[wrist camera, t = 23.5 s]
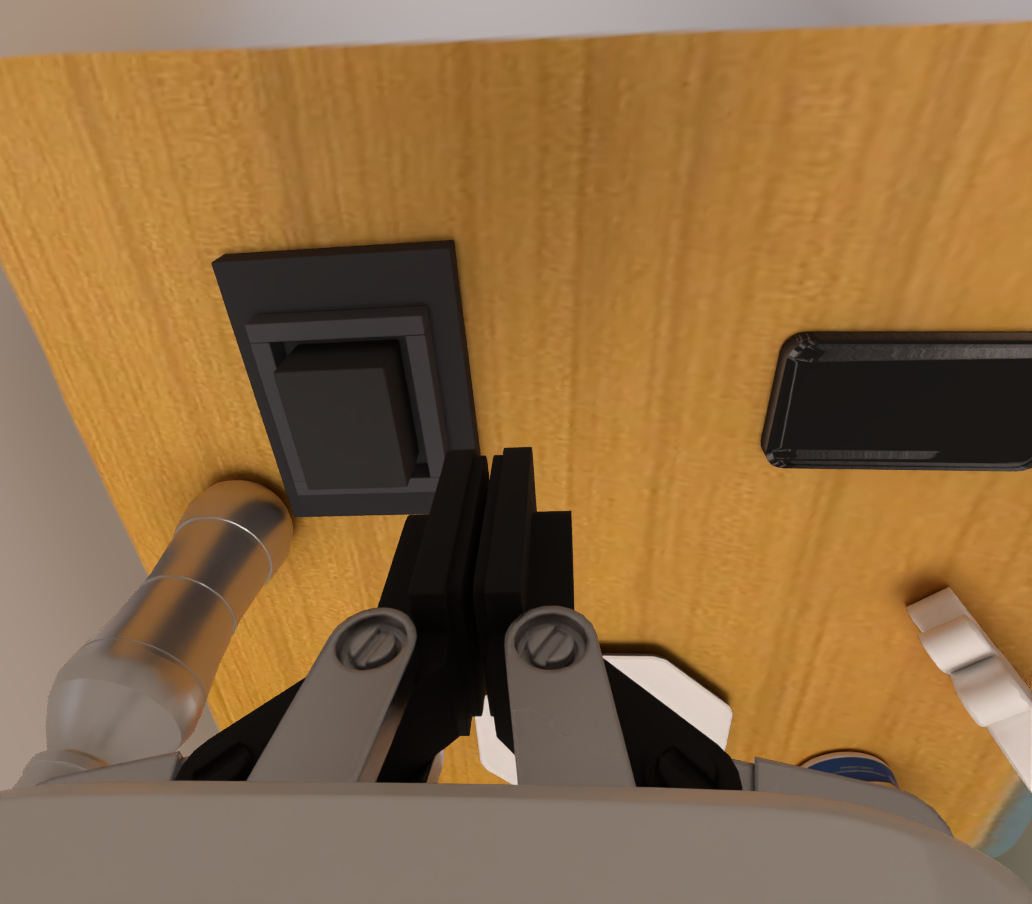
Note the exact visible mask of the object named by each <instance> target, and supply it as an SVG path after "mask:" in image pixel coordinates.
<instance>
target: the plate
mask: <svg viewBox="0 0 1032 904" xmlns="http://www.w3.org/2000/svg"><path fill="white" fill-rule="evenodd" d="M602 657H603V658H604V659H605V660H607V661H608V662H609V663H611V664H612V665H613V666H615V667H616V668H617V669H619V670H620V671H621V672H623V673H624V674H625V675H627V676H628V677H629V678H631V679H632V680H633V681H634V682H636V683H637V684H638V685H640V686H641V687H642V688H644V689H645V690H646V691H648V692H649V693H650V694H652V695H653V696H654V697H656V698H657V699H658V700H660V701H661V702H662V703H664V704H665V705H666V706H668V707H669V708H670V709H672V710H673V711H674V712H676V713H677V714H678V715H680V716H681V717H682V718H684V719H685V720H686V721H687V722H689V723H690V724H691V725H693V726H694V727H695V728H697V729H698V730H699V731H701V732H702V733H703V734H705V735H706V736H707V737H709V738H710V739H711V740H713V741H714V742H715V743H717V744H718V745H719V746H720V747H721V748H722V749H723V750H724V751H725V748H726V744H727V739H728V734H729V729H730V725H731V720H732V715H733V713H732V710H731V708H730V706H729V704H728V703H727V702H725V701H724V700H723V699H721V698H720V697H718V696H717V695H716V694H714V693H713V692H712V691H710V690H709V689H708V688H706V687H705V686H703V685H702V684H701V683H699V682H698V681H697V680H695V679H694V678H693V677H691V676H690V675H688V674H687V673H686V672H684V671H683V670H682V669H680V668H679V667H677V666H676V665H675V664H673V663H672V662H671V661H669V660H668V659H667V658H665V657H662V656H659V655H655V654H638V653H602ZM475 723H476V731H477V738H478V746H479V753H480V761H481V763H482V764H483V766H484V767H485V768H486V769H487V770H488V771H490V772H492V773H493V774H495V775H497V776H499V777H501V778H502V779H504V780H506V781H508V782H509V783H511V784H513V785H518V782H517V771H516V761H515V755H514V754H513V753H512V752H511V751H510V750H509V749H508V748H507V747H506V746H505V745H504V744H503V743H502V742H501V741H500V740H499V739H498V738H497V737H496V730H495V723H494V717H491V716H490V711H489V704H488V698H487V693H486V694H485V699H484V708H483V714H482V716H481V717H475Z"/></svg>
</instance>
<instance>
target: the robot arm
mask: <svg viewBox="0 0 1032 904" xmlns="http://www.w3.org/2000/svg"><path fill="white" fill-rule="evenodd" d="M485 690H486V691H487V698H488V704H489V711H490V716H491V717H494V723H495V730H496V737H497V738H498V739H499V740H500V741H501V742H502V743H503V744H504V745H505V746H506V747H507V748H508V749H509V750H510V751H511V752H512V753H513V754H514V755H515V761H516V771H517V782H518V785H506V784H441V783H437V782H438V779H439V776H440V773H441V770H442V766H443V759H444V752H443V749H444V748H446V747H447V746H448V745H449V744H451V743H452V742H453V741H454V740H456V739H457V738H458V737H459V736H470V728H471V720H472V716H475V717H481V716H482V714H483V708H484V699H485ZM0 904H1032V889H1031V888H1030V887H1029V886H1028V885H1027V884H1026V883H1025V882H1024V881H1023V880H1022V879H1021V878H1019V877H1018V876H1017V875H1015V874H1014V873H1013V872H1012V871H1010V870H1009V869H1008V868H1006V867H1005V866H1003V865H1002V864H1000V863H999V862H997V861H995V860H994V859H992V858H991V857H989V856H987V855H986V854H984V853H982V852H980V851H979V850H977V849H975V848H973V847H971V846H969V845H967V844H965V843H963V842H961V841H959V840H957V839H955V838H954V837H953V835H952V833H951V830H950V828H949V826H948V825H947V824H946V823H945V821H944V820H943V819H942V818H941V817H940V816H939V815H938V813H937V812H936V811H935V810H934V809H933V808H932V807H930V806H929V805H928V804H926V803H925V802H923V801H922V800H920V799H919V798H918V797H916V796H915V795H912V794H910V793H907V792H905V791H902V790H899V789H897V788H894V787H889V786H885V785H880V784H876V783H871V782H867V781H862V780H858V779H853V778H849V777H844V776H840V775H835V774H831V773H826V772H822V771H817V770H813V769H808V768H804V767H799V766H795V765H790V764H786V763H781V762H777V761H772V760H768V759H763V758H759V757H755V758H754V763H749V762H744V761H740V760H735V759H731V758H730V756H729V755H728V754H727V753H726V752H725V751H724V750H723V749H722V748H721V747H720V746H719V745H718V744H717V743H715V742H714V741H713V740H711V739H710V738H709V737H707V736H706V735H705V734H703V733H702V732H701V731H699V730H698V729H697V728H695V727H694V726H693V725H691V724H690V723H689V722H687V721H686V720H685V719H684V718H682V717H681V716H680V715H678V714H677V713H676V712H674V711H673V710H672V709H670V708H669V707H668V706H666V705H665V704H664V703H662V702H661V701H660V700H658V699H657V698H656V697H654V696H653V695H652V694H650V693H649V692H648V691H646V690H645V689H644V688H642V687H641V686H640V685H638V684H637V683H636V682H634V681H633V680H632V679H631V678H629V677H628V676H627V675H625V674H624V673H623V672H621V671H620V670H619V669H617V668H616V667H615V666H613V665H612V664H611V663H609V662H608V661H607V660H605V659H604V658H603V657H602V653H601V649H600V645H599V641H598V637H597V634H596V632H595V630H594V628H593V625H592V624H591V623H590V622H589V621H588V620H587V619H586V618H585V617H584V616H583V615H582V614H580V613H578V612H576V611H574V579H573V547H572V519H571V511H548V512H537V508H536V494H535V480H534V467H533V453H532V447H517V448H504V451H503V455H494V457H493V462H492V468H491V475H490V480H489V472H488V463H487V458H486V456H477V452H476V450H475V449H456V450H447V452H446V456H445V459H444V463H443V466H442V470H441V474H440V477H439V481H438V484H437V488H436V492H435V495H434V499H433V502H432V506H431V510H430V513H429V514H422V515H409V516H408V517H407V519H406V521H405V524H404V527H403V530H402V534H401V537H400V540H399V543H398V546H397V549H396V552H395V555H394V558H393V561H392V565H391V568H390V571H389V574H388V577H387V580H386V583H385V586H384V589H383V592H382V595H381V599H380V602H379V605H378V608H372V609H368V610H364V611H361V612H359V613H357V614H354V615H352V616H350V617H348V618H347V619H346V620H345V621H343V622H342V623H341V624H339V625H338V626H337V627H336V629H335V630H334V631H333V633H332V634H331V635H330V637H329V638H328V640H327V642H326V644H325V645H324V647H323V649H322V650H321V652H320V654H319V656H318V657H317V659H316V661H315V663H314V664H313V666H312V668H311V670H310V671H309V673H308V675H307V677H305V678H304V679H302V680H301V681H299V682H298V683H296V684H294V685H293V686H291V687H290V688H288V689H287V690H285V691H284V692H282V693H280V694H279V695H277V696H276V697H274V698H273V699H271V700H270V701H268V702H266V703H265V704H263V705H262V706H260V707H259V708H257V709H255V710H254V711H252V712H251V713H249V714H248V715H246V716H245V717H243V718H241V719H240V720H238V721H237V722H235V723H234V724H232V725H231V726H229V727H227V728H226V729H224V730H223V731H221V732H220V733H218V734H216V735H215V736H213V737H212V738H210V739H209V740H207V741H206V742H205V743H204V744H202V745H201V746H200V747H198V748H197V749H196V750H195V751H194V752H193V753H192V754H191V755H190V756H188V757H183V756H182V755H181V753H180V751H177V752H172V753H167V754H163V755H158V756H153V757H148V758H143V759H138V760H134V761H129V762H124V763H119V764H114V765H109V766H105V767H100V768H95V769H90V770H85V771H80V772H76V773H71V774H66V775H61V776H57V777H54V778H51V779H48V780H45V781H43V782H40V783H38V784H37V785H35V786H31V787H24V788H17V789H9V790H4V791H0Z"/></svg>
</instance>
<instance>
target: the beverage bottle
mask: <svg viewBox="0 0 1032 904" xmlns="http://www.w3.org/2000/svg"><path fill="white" fill-rule="evenodd" d="M800 767H804V768H808V769H813V770H817V771H822V772H826V773H831V774H835V775H840V776H844V777H849V778H853V779H858V780H862V781H867V782H871V783H876V784H880V785H885V786H889V787H894V788H897V789H899V787H898V784H897V782H896V779H895V777H894V775H893V773H892V771H891V769H890V768H889V767H888V766H887V765H886V764H885V763H884V762H883V761H881V760H880V759H878V758H876V757H874V756H871V755H868V754H864V753H859V752H835V753H829V754H825V755H821V756H818V757H816V758H813V759H811V760H809V761H807V762H806V763H804V764H803V765H802V766H800Z"/></svg>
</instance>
